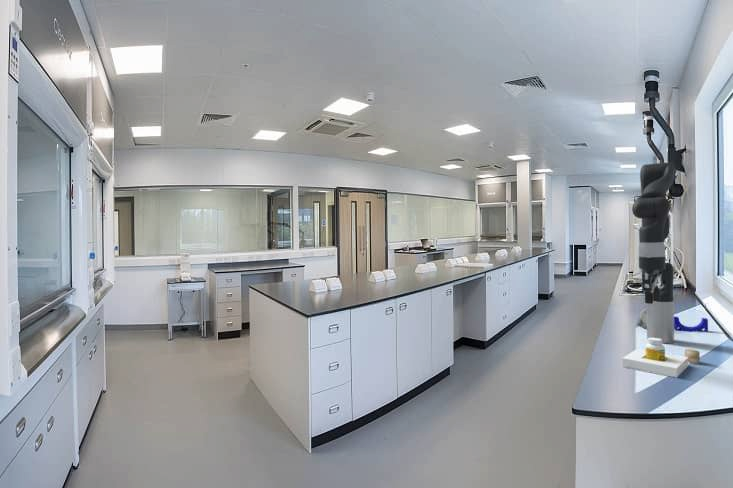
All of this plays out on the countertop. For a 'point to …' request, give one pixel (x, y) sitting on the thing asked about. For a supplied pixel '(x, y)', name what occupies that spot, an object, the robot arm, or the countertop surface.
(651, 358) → the supplement bottle
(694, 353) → the short birch peg
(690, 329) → the blue cradle block
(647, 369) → the collar block
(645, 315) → the mineral rock
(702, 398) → the countertop surface
